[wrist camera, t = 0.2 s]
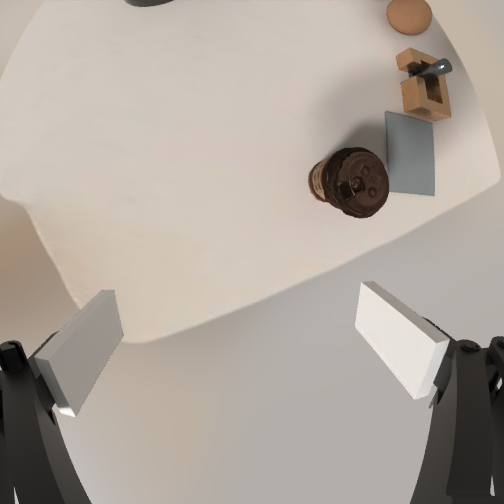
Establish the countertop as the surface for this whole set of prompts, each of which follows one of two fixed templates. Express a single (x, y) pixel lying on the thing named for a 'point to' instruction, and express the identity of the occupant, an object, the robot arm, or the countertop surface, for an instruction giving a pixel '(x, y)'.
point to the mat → (410, 155)
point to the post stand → (432, 70)
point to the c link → (423, 88)
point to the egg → (409, 15)
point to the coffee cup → (351, 182)
